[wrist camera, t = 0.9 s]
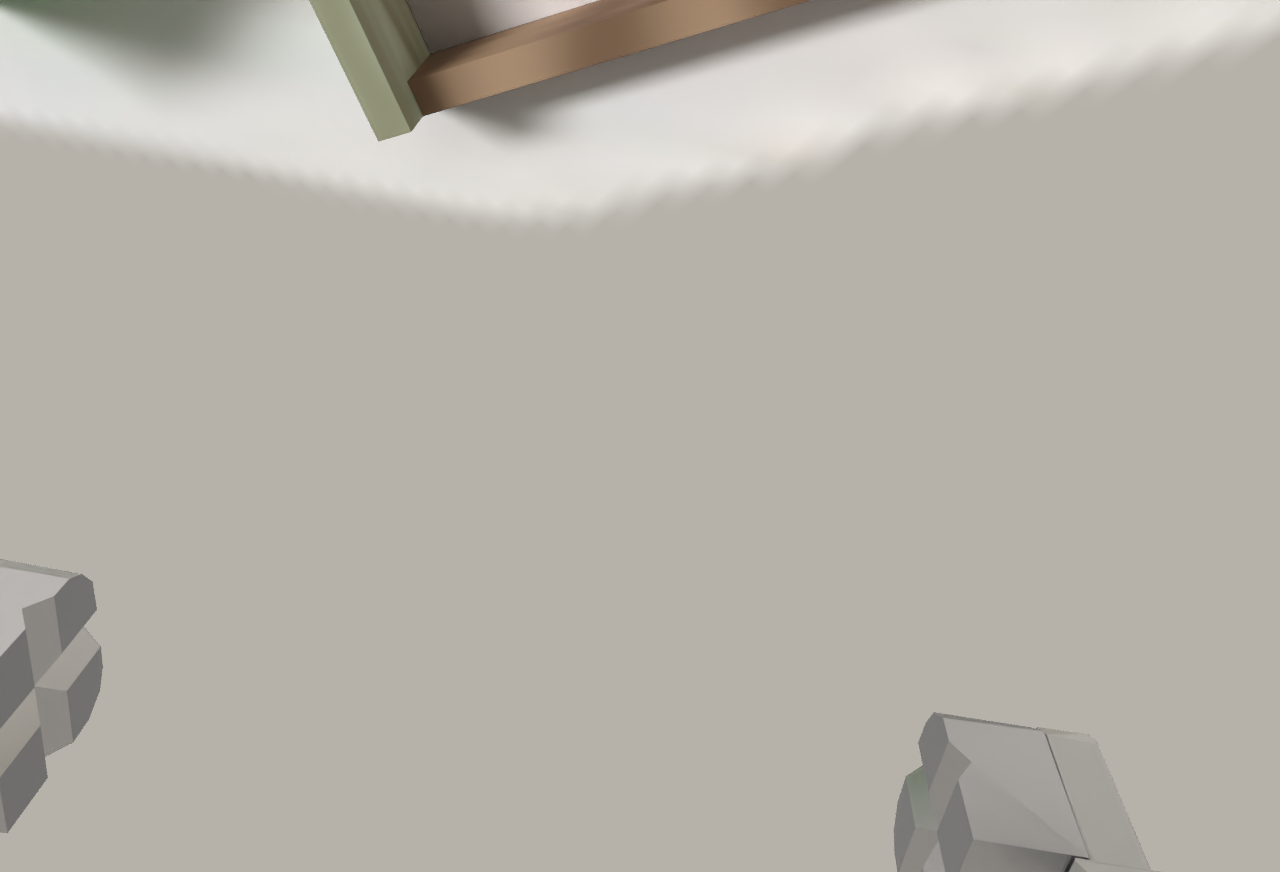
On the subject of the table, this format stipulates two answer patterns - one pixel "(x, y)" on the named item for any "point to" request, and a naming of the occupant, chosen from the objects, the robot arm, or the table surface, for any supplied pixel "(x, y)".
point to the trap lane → (499, 49)
